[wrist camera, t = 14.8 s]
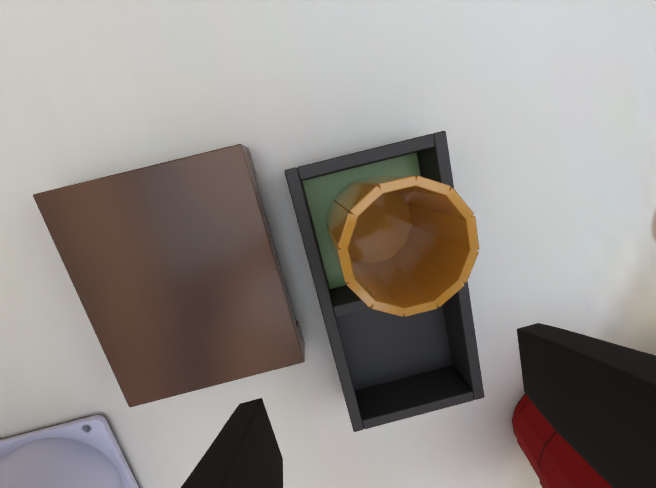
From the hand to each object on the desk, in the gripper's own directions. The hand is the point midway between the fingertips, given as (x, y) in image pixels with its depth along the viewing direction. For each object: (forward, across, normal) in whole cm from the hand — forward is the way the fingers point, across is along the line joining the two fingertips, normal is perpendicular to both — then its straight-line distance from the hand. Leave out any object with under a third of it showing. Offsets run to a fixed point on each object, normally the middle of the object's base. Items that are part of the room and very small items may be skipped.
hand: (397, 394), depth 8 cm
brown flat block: (+10, +8, -2) cm, 14 cm away
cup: (+10, -2, -3) cm, 10 cm away
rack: (+10, -2, +1) cm, 11 cm away
